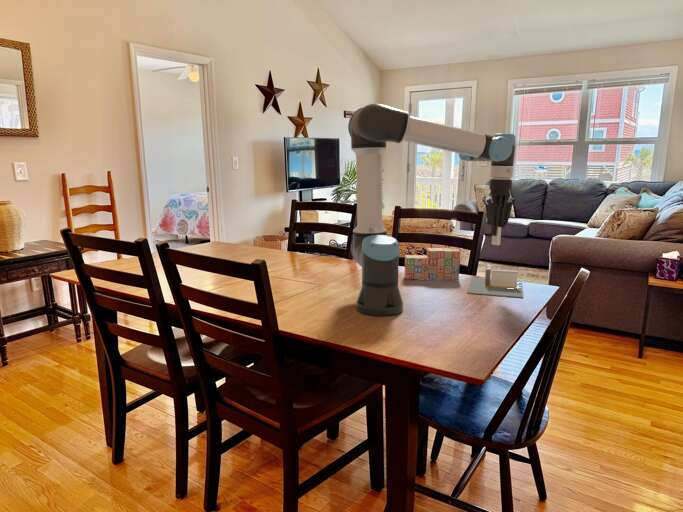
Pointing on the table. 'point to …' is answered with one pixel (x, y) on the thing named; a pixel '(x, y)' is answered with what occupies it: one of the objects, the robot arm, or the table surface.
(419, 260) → the stack of blocks
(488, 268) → the fixed fence panel
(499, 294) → the card
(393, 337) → the table surface
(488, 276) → the folding fence panel
